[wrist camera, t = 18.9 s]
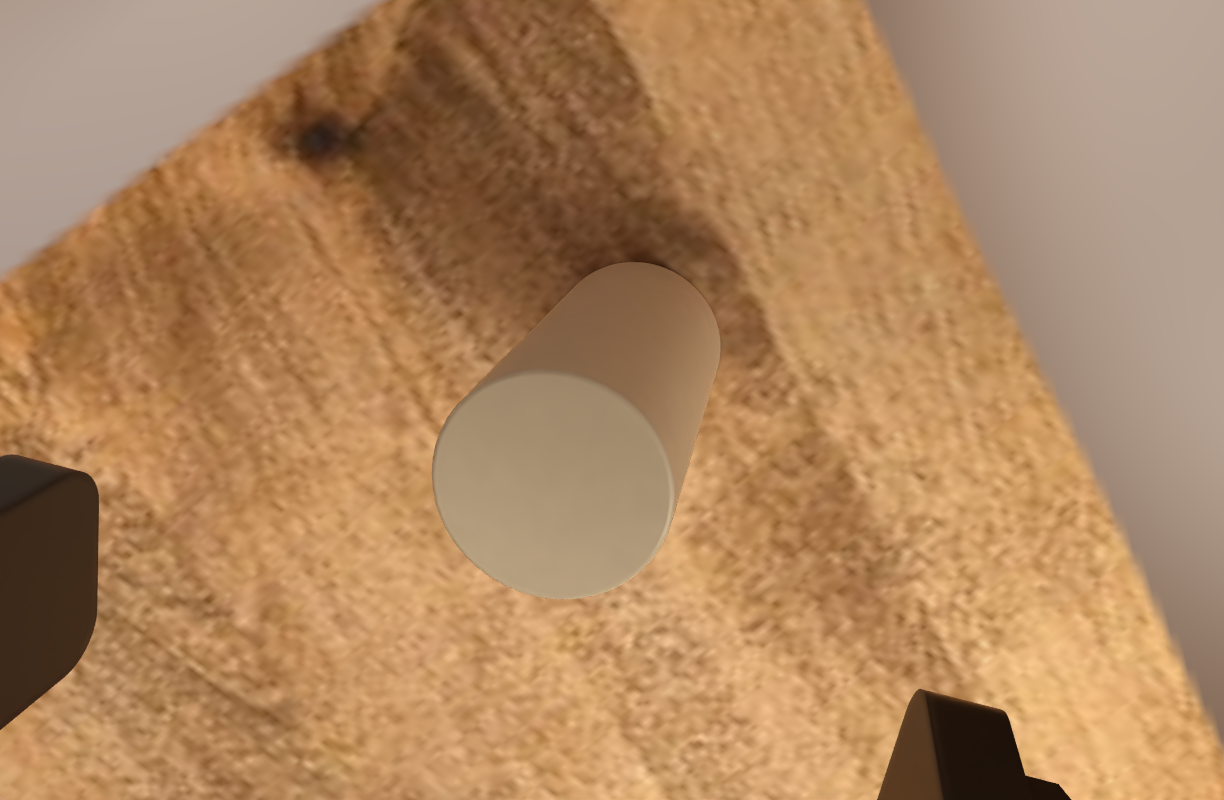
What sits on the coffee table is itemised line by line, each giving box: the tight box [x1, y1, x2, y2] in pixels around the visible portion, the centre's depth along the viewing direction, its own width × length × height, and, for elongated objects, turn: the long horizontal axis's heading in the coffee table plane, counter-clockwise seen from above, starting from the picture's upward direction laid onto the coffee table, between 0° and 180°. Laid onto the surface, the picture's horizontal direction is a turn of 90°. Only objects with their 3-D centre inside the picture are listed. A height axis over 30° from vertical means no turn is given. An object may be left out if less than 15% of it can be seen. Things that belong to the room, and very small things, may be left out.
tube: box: [432, 262, 721, 599], centre depth 17 cm, size 3×3×7 cm
